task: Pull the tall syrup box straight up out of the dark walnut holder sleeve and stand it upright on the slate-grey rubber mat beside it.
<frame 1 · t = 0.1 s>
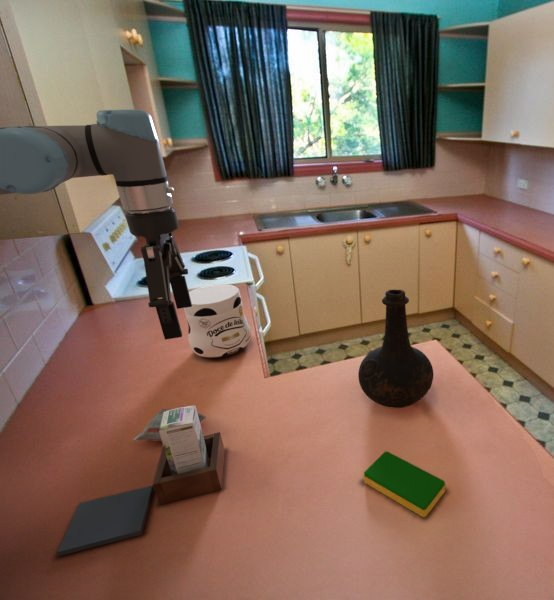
hand: (179, 321, 81), 29 cm above the countertop, tool pointing down, fingers open, 13 cm apart
dish sponge: (404, 487, 79), on the countertop
syrup box: (194, 476, 83), resting in holder
glass bottle: (396, 396, 105), on the countertop
mat: (110, 520, 75), on the countertop
holder: (194, 475, 83), on the countertop
packaged food: (173, 436, 94), on the countertop
doce de leite jar: (223, 348, 129), on the countertop
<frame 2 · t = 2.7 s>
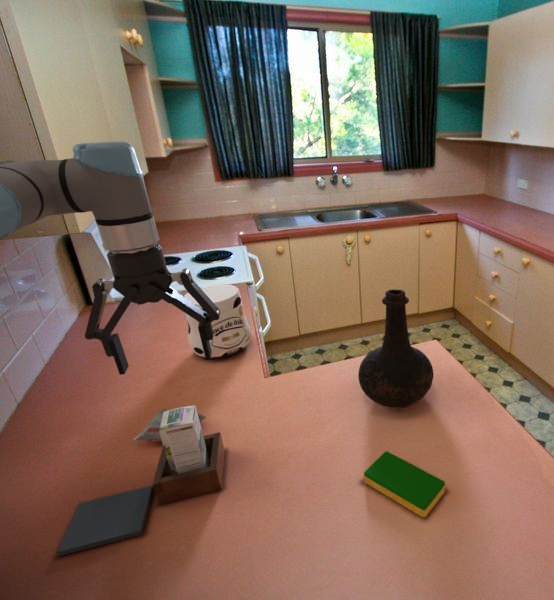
hand: (167, 363, 75), 25 cm above the countertop, tool pointing down, fingers open, 13 cm apart
nothing on the countertop moved.
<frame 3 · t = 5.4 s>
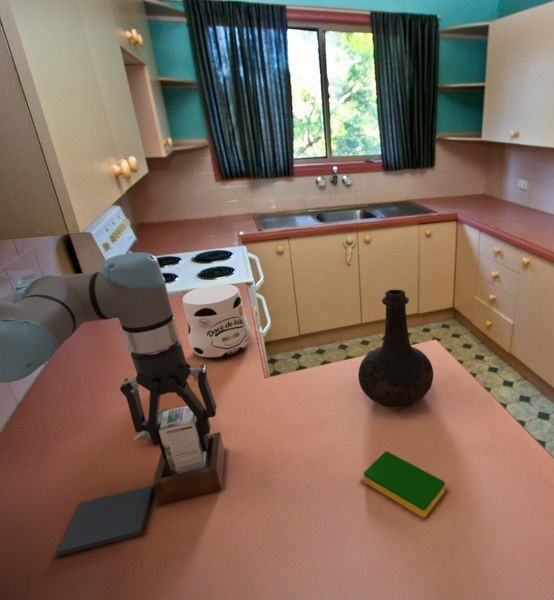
hand: (187, 450, 81), 6 cm above the countertop, tool pointing down, fingers closed on syrup box, 6 cm apart
syrup box: (194, 476, 83), resting in holder, touching gripper
everything else where it was.
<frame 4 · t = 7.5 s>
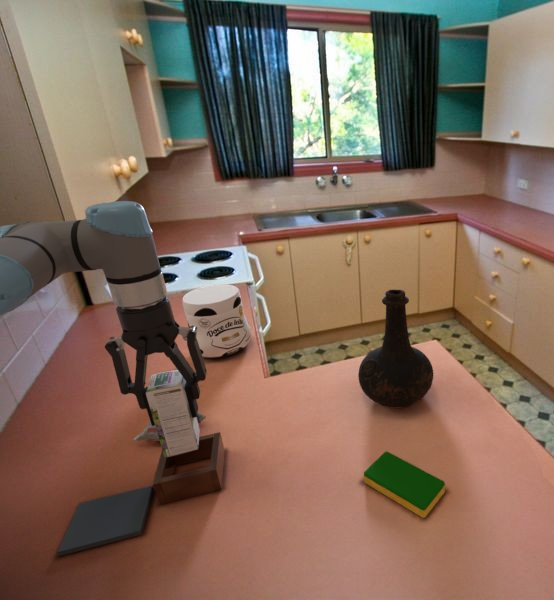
hand: (175, 416, 77), 14 cm above the countertop, tool pointing down, fingers closed on syrup box, 6 cm apart
syrup box: (184, 444, 80), point 8 cm above the countertop, touching gripper
everything else where it was.
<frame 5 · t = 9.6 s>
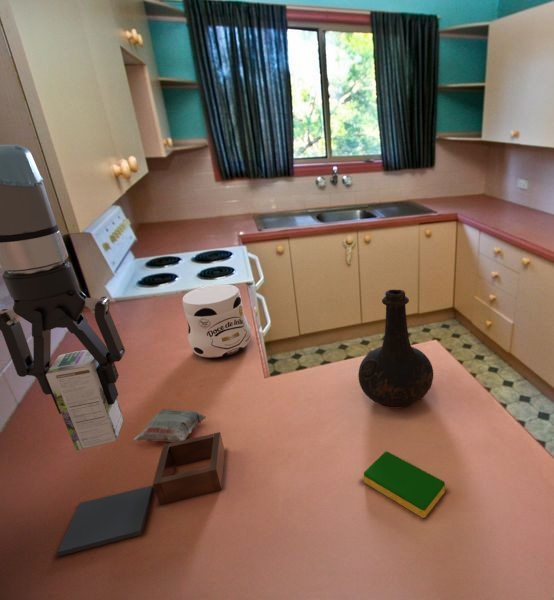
hand: (89, 403, 67), 23 cm above the countertop, tool pointing down, fingers closed on syrup box, 6 cm apart
syrup box: (102, 436, 70), point 17 cm above the countertop, touching gripper
everything else where it was.
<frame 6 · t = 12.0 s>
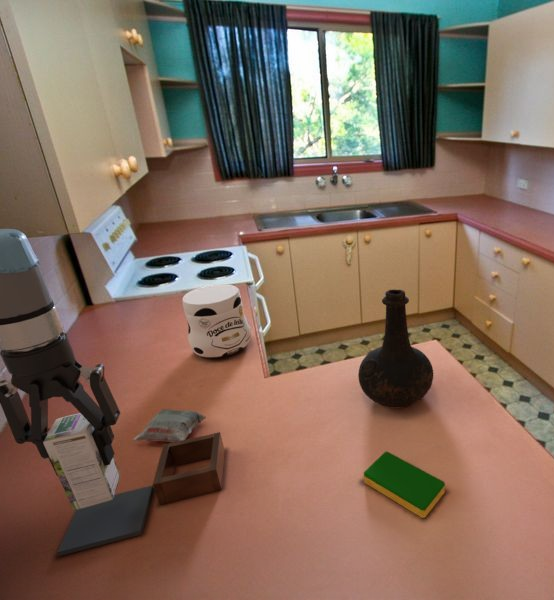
hand: (86, 464, 69), 13 cm above the countertop, tool pointing down, fingers closed on syrup box, 6 cm apart
syrup box: (99, 493, 72), point 6 cm above the countertop, touching gripper
everything else where it was.
when the fingers open (7 cm above the countertop, at t = 13.6 s): syrup box stays where it is, resting on mat.
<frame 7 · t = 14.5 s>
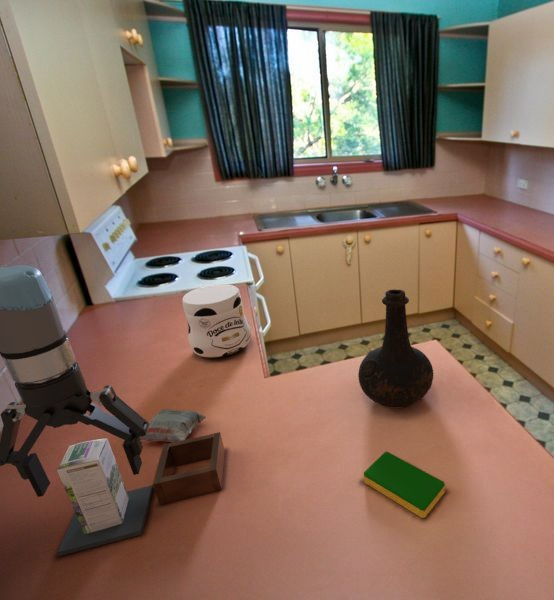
hand: (92, 479, 71), 10 cm above the countertop, tool pointing down, fingers open, 13 cm apart
syrup box: (109, 516, 74), point 1 cm above the countertop, touching mat
everything else where it was.
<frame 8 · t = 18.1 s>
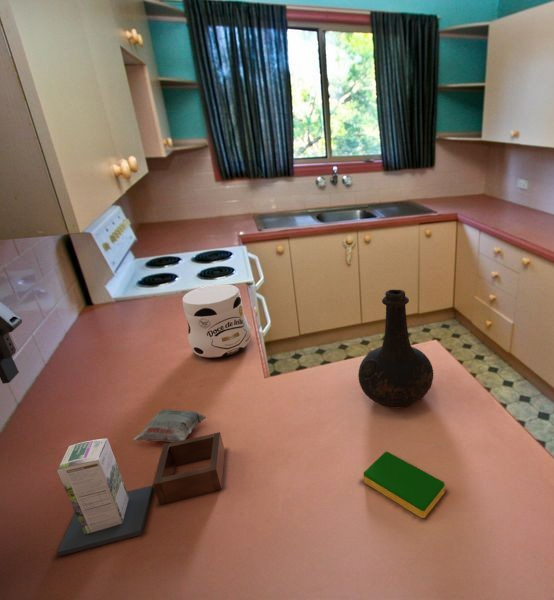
nothing on the countertop moved.
at the end: syrup box inside the target area on the mat (0.1 cm from its centre), point 0.8 cm above the mat's base; syrup box tilted 0°; the gripper is holding nothing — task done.
